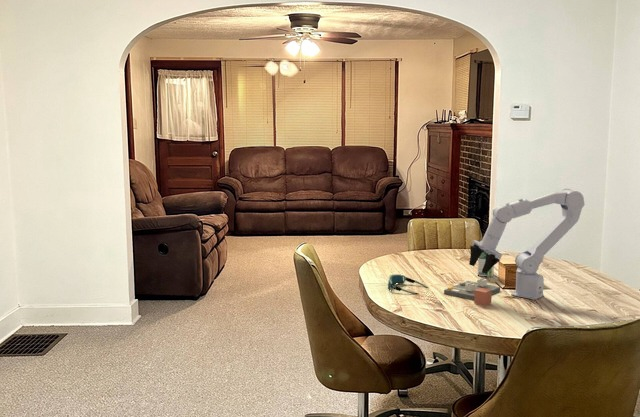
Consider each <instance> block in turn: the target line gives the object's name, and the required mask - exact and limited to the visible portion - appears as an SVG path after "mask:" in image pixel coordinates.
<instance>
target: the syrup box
mask: <svg viewBox="0 0 640 417" xmlns="http://www.w3.org/2000/svg"><path fill="white" fill-rule="evenodd" d="M479 242H482V240H481V241H479ZM483 249H484V248H483ZM485 250H486V249H485ZM487 251H488V250H487ZM490 253H491V252H490ZM486 254H489V253H487V252H485V251H484V252H483V253H482V254H481V255H480V257H479V258H478V260H477V264H478V266H477V276H478V275H479V276H478V277H484V276H487V277H486V278H491V277H493V275H494V272H495V265H494V266H493V267H492V268H491V269H490V270H489V272H488V273H487V274H485V273H482V269H483V267H484V264H485V260H486ZM489 255H491V254H489Z"/></svg>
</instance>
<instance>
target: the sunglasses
mask: <svg viewBox="0 0 640 417" xmlns="http://www.w3.org/2000/svg"><path fill="white" fill-rule="evenodd" d="M405 282H409V283H411V284H414V283H416V284H418V285H420V286H422V287H424V288H426V287H427V288H426V289H429V287H428V286H427V285H425V284H424V283H421V282H420V281H417V280H414V279H412V278H410V277H407V276H406V275H403V274H400V273H399V274H397V273H395V274H390V275H389V277H388V283H387V289H389V290H391V291H392V290H395V291H398V292H401V291H402V292H405V293H408V294H411V295H412V294H413V295H420V293H418V292H413V291H410V290H407V289H405V288H402V287H400V286H398V285H394V284H396V283H404V284H405Z"/></svg>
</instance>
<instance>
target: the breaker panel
mask: <svg viewBox="0 0 640 417" xmlns="http://www.w3.org/2000/svg"><path fill="white" fill-rule="evenodd" d="M471 282H473V284H475V290H476V289H479V288H484V289H490V290H492V293H491V296H492V295H494V294H496V293H499V292H500V291H501V286H496V285H493V284H492V285H491V284H487V285H486V286H484V287H481V286H477V281H471V280H466V281H464V282H462V281H461V282H459V283H458V284H455V285H452V286H447V288H446V289H444V290H443V294H444V295H449V296H453V297H458V298H463V299H466V300H473V301H474V291H466V290H465V285H466V284H468V283H471Z"/></svg>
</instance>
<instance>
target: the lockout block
mask: <svg viewBox="0 0 640 417" xmlns="http://www.w3.org/2000/svg"><path fill="white" fill-rule="evenodd" d="M491 293H492V290H490V289H484V288H479V289H476V290H474V300H473V304H475V305H479V306H484V307H486V306H489V305H490V304H492V295H491Z"/></svg>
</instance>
